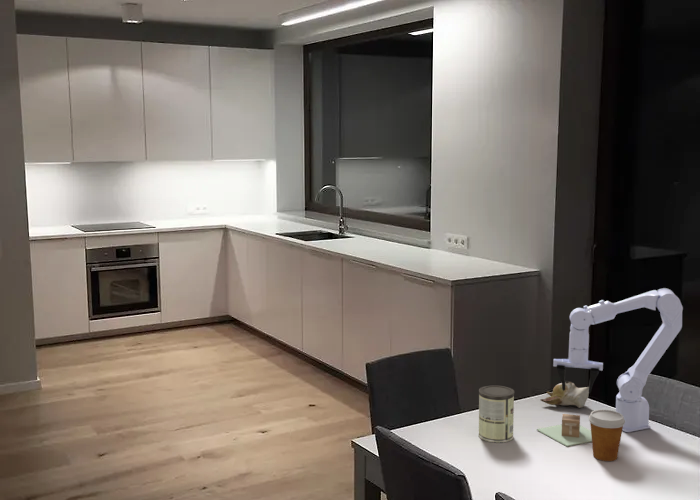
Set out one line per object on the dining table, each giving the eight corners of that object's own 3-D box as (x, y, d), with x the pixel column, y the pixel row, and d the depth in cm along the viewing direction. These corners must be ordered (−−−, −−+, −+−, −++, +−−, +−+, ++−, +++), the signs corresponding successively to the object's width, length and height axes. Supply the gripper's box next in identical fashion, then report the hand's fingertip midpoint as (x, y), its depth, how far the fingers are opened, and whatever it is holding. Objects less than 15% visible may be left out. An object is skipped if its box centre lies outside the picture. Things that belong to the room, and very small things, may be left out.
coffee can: (476, 429, 231) (477, 384, 229) (511, 430, 230) (512, 385, 228) (479, 442, 221) (480, 395, 219) (515, 443, 220) (516, 396, 218)
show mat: (573, 423, 236) (573, 422, 236) (605, 439, 223) (605, 437, 223) (536, 430, 230) (536, 429, 230) (566, 446, 218) (566, 445, 217)
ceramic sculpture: (586, 386, 244) (539, 383, 250) (586, 413, 244) (540, 409, 251) (592, 378, 253) (546, 375, 260) (592, 403, 254) (547, 399, 261)
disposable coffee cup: (616, 466, 204) (618, 423, 202) (582, 458, 209) (583, 416, 208) (628, 455, 211) (630, 413, 210) (594, 447, 217) (595, 406, 215)
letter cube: (562, 429, 229) (562, 413, 229) (579, 431, 228) (580, 415, 227) (561, 435, 225) (562, 419, 224) (579, 437, 223) (579, 421, 222)
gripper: (553, 348, 231) (551, 392, 233) (603, 352, 227) (601, 396, 229) (554, 343, 238) (553, 385, 240) (603, 347, 234) (601, 389, 235)
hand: (576, 390), depth 235 cm, fingers open, 7 cm apart
